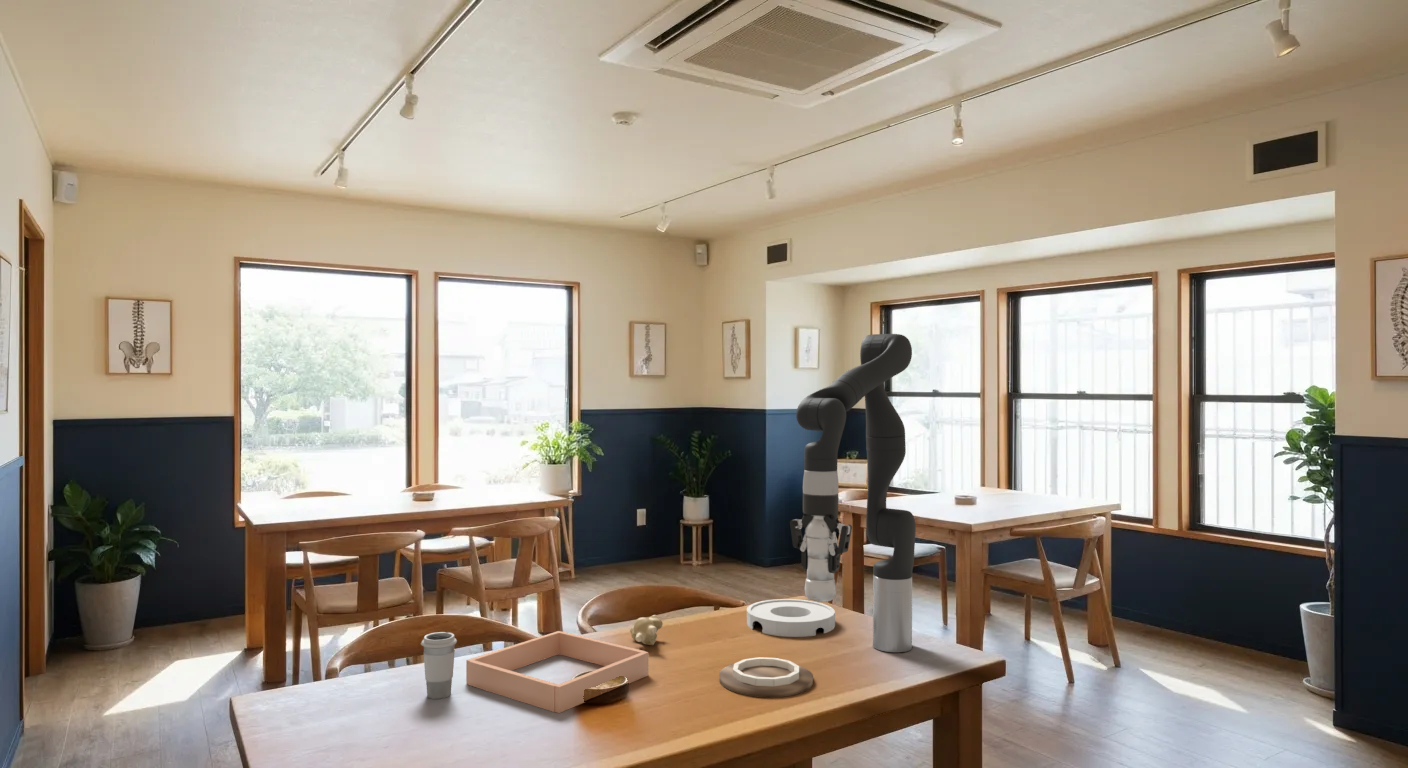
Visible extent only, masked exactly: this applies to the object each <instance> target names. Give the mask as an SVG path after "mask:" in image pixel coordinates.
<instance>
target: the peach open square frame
mask: <svg viewBox="0 0 1408 768" xmlns="http://www.w3.org/2000/svg"><path fill="white" fill-rule="evenodd" d="M557 655H561V656H565V657H568V658H572V659H576V660H581V661H584V662H587V663H592V664H596V665H600V666H603V667H600V668H598V669H595V670H592V671H590V672H587V673H585V674H582V675H580V676H577V677H574V678H571V679H569V680H567V681H564V682H561V683H559V684H558V683H555V682H551V681H548V680H545V679H544V680H543V679H540V678H538V677H534V676H531V675H526V674H524V673H519V672H517V671H514V670H518V669H520V668H523V667H526V666H528V665H531V664H534V663H537V662H540V661H543V660H546V659H548V658H552V657H555V656H557ZM465 666H466V667H465V668H466V671H465V672H466V679H465V681H466V683H465V684H466V685H469V686H471V687H474V688H477V689H479V690H480V689H481V690H483V691H486V692H489V693H493V694H496V695H499V696H502V697H504V698H509V699H512V700H515V701H518V702H522V703H524V704H528V705H530V706H534V707H537V708H540V709H544V710H547V711H550V712H553V713H558V714H560V713H563V712H565V711H567V710H569V709H572V708H574V707H578V706H579V705H582V704H584V703H585V702H584V699H583V698H584V697H583V696H584V690H585V689H587V688H591V687H596V686H598V685H600V684H602V683H605V682H607V681H609V680H612V679H615V678H616V677H619V676H624V677H626V678H627V680H628V683H629V684H631V683H634V682H636V681H639V680H641V679H643V678H645V677H647V676H649V652H648V651H645V650H641V649H637V648H633V647H629V646H625V645H620V644H617V643H611V642H608V641H603V640H601V639H600V640H599V639H595V638H591V637H587V636H582V635H579V634H575V633H569V632H567V631H561V630H557V631H554V632H551V633H548V634H544V635H542V636H538V637H535V638H532V639H529V640H526V641H522V642H519V643H516V644H512V645H510V646H506V647H503V648H501V649H497V650H494V651H491V652H488V653H486V654H481V655H477V656H476V657H472V658H469V659H466V665H465Z"/></svg>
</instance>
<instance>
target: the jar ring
mask: <svg viewBox="0 0 1408 768" xmlns="http://www.w3.org/2000/svg"><path fill="white" fill-rule="evenodd" d="M733 664H734V663H733ZM798 665H799V664H796V663H795V662H793V661H791V660H788V659H782V658H777V657H762V656H761V657H759V656H758V657H751V658H743V659H741V660H739V661H737V662H735V664H734V667H733V677H734V678H736V679H737V680H739V681H740V682H743V683H747V684H751V685H755V686H780V685H786V684H791V683H793V682H794V681H796V680H798V679H799V666H798ZM753 666H776V667H781V668H785V669H788V670H790V671H791V672H792V673H790V674H788V675H786V676H779V677H756V676H752V675H747V674H744V673H743V672H741V671H740V670H742V669H744V668H747V667H753Z"/></svg>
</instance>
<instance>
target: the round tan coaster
mask: <svg viewBox="0 0 1408 768" xmlns="http://www.w3.org/2000/svg"><path fill="white" fill-rule="evenodd" d="M735 663H736V662H735ZM735 663H731V664H728V665H726V666H725V667H723V668H722V669H720V671H719V678H718V679H719V683H720V685H721V686H722V687H724V688H725V689H727V690H729V691H731V692H734V693H735V694H740V695H745V696H750V697H757V696H758V698H779V697H780V698H781V697H782V698H783V697H789V696H795V695H799V694H802V693H804V692H806V691H808V690H810V689H811V688H812V686H813V684H814V674H813V673H812V672H811V671H810V670H809V669H808V668H806V667H804V666H802V665H799V664H797V665H798V666H799V679H798V680H796V681H794V682H793V683H791V684H786V685H780V686H755V685H751V684H747V683H743V682H740V681H739V680H737V679H736V678H734V677H733V667H734V664H735ZM740 671H741V672H743V673H744V674H747V675H752V676H756V677H779V676H786V675H788V674H790V673H792V672H791V671H790V670H788V669H785V668H781V667H776V666H753V667H747V668H744V669H742V670H740Z"/></svg>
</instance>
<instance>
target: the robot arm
mask: <svg viewBox="0 0 1408 768" xmlns="http://www.w3.org/2000/svg"><path fill="white" fill-rule="evenodd" d="M859 355H860V358H859V359H860V365H858V366H855V367H853V368H851V369H848V370H846V371H845V372H843V373H842V374H840V375H839V376H838V377H837V378H835V380H833V381H832V382H831V383H830V384H829V385H828V386H826V387H823V388H820V389H817V391H814V392H812V393H811V394H808V395H807V396H806V397H805V398H803V399H802V400H801V401H800V403H799V404H798V406H797V408H796V415H795V416H796V422H797V424H798V425H799V426H800V427H801V428H802V429H805V430H807V431H814V432H815V431H817V432H819V431H820V432H822V434H821V437H820V438H819V440H817V441H812V442H809V443H807V444H805V447H804V450H803V451H804V454H803V455H804V461H803V463H804V466H803V467H804V468H803V469H804V471H803V477H802V514H803V515H802V518H801V519H799V518H795V519H792V520H790V521H789V526H790V527H789V528H790V533H791V534H790V535H791V541H792V547H793V548H794V549H798V550H800V551H801V552H800V553H801V555H800V556H801V566H802V567H803V570H806V571H807V565H808V559H807V558H808V556H807V545H806V538H805V537H806V536H805V534H804V535H803V532H802V529H803V528H804V530H805V529H806V527H807V525H809V524H810V523H809V522H810V521H811V520H812V519H813V516H811V515H814V516H825V517H823V519H824V521H825V522H826V524H827V526H828V527H829V529H830V532H831V533H833V532H834V531H835V532H836V531H838V533H839V534H840V535H839V541H838V538H837V536H836V537H835V540H831V539H830V538H829V537H828V542H827V544H828V545H829V552H830V554H831V555H830V559H829V572H830V573H834V574H835V573H837V571H838V570H840V555H841V554H844V553H847V552H848V551H849V545H850V541H851V534H852V528H853V527H852V525H851V524H850V523H849V524H844V523H840V520H839V518H838V517H839V516H838V515H839V476H838V452H839V447H840V443H841V440H842V436H843V432H844V430H845V427H846V426H845V425H846V421H847V412H849V411H850V410H852V409H853V407H854V406H856V405H857V404H858V403H859V402H860V401H861V400H862V399H863V398H864V406H865V442H866V445H865V446H866V447H865V448H866V459H867V460H866V462H867V498H866V515H865V517H866V518H865V528H866V529H865V531H866V536H867V539H868V541H869V543H870V544H872V545H873V546H878V547H884V548H885V547H886V548H892V549H893V554H892V556H890V557H889V558H887V559H881V560H878V561H876V562H874V563H873V568H872V571H873V572H872V573H873V574H872V587H873V588H872V595H873V596H872V647H873V648H875V649H876V650H879V651H882V652H886V653H905V652H909V651H911V650H912V649H913V569H914V564H915V563H914V562H915V546H916V544H915V543H916V529H917V527H916V520H915V519H916V518H915V517H914V514H913V513H912V512H911V511H909V510H906V509H897V508H888V507H887V496H888V495H887V494H888V490H889V486H890V485H891V482H892V481H893V479H894V478H895V475H896V474H897V473H898V471H899V469H900V467H901V466H902V464H903V462H904V460H905V457H906V428H905V425H904V422H903V420H902V418H901V415H899V413H898V411H897V409H895V407H894V405H893V404H892V402H891V401H890V399H889V396H888V394H887V392H886V388H885V382H886V381H888V380H890V379H892V378H893V377H895V376H897V375H898V374H901V373H902V372H904V371H905V370H906V369H907V368H908V367H909V366H910V363H911V362H912V357H913V347H912V345H911V341H910V339H908V337H907V336H906V335H904V334H899V333H879V334H873V333H872V334H868V335H866V336H865V337H864V338H863V340H862V342H861V344H860V353H859ZM821 525H822V524H821ZM822 526H823V527H824V525H822ZM836 533H837V532H836ZM833 543H834V545H833Z"/></svg>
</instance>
